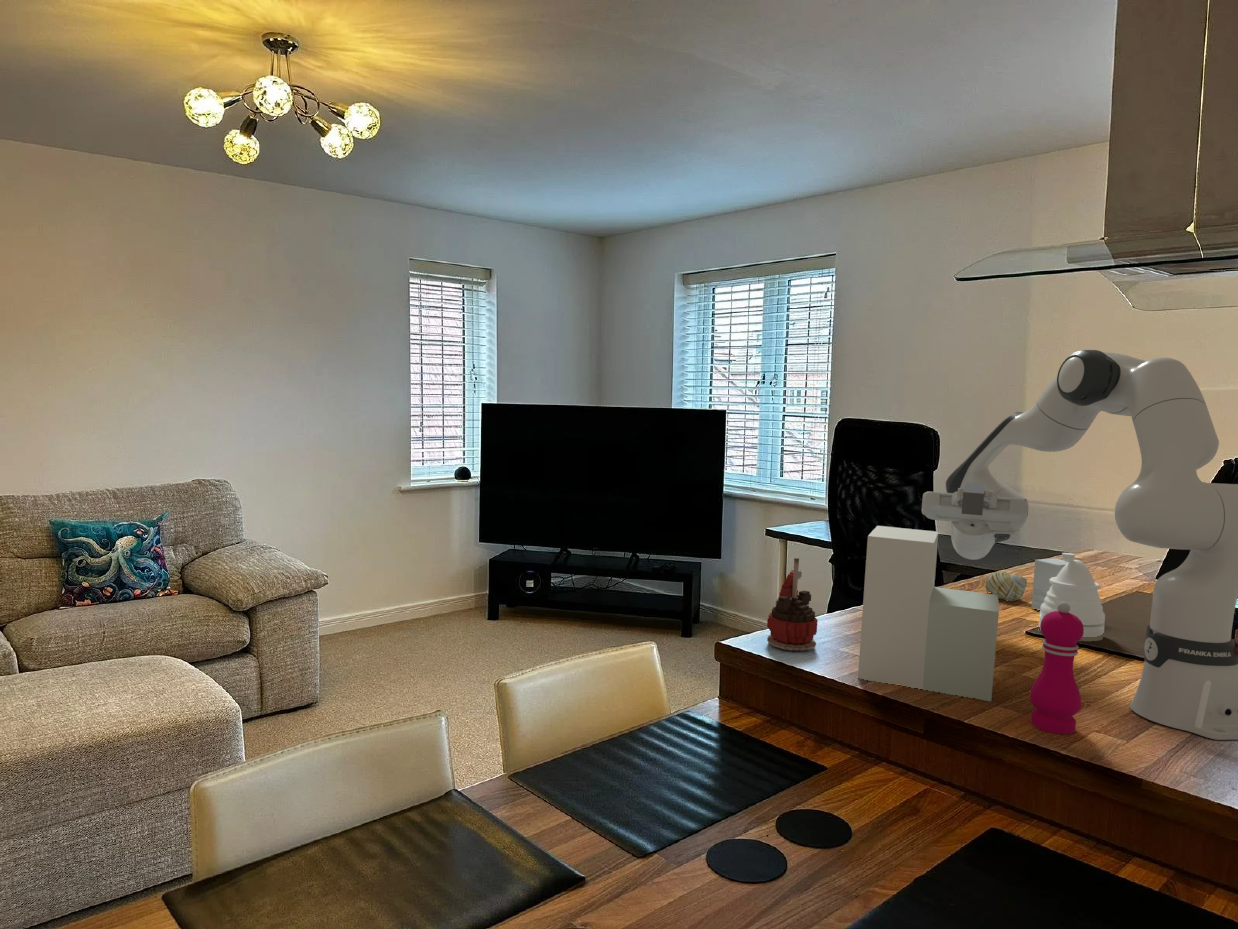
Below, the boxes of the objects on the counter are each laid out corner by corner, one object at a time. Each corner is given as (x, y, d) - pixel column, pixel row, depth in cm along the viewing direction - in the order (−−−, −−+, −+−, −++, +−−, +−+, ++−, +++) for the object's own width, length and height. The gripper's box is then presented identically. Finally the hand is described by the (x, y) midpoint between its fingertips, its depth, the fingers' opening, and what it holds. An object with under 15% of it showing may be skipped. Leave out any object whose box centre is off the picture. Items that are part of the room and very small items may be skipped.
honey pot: (1055, 640, 183) (1062, 558, 182) (1028, 624, 196) (1034, 547, 194) (1115, 643, 183) (1123, 561, 181) (1084, 627, 196) (1091, 550, 194)
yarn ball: (987, 588, 229) (1008, 558, 225) (1018, 611, 223) (1040, 581, 220) (971, 591, 222) (992, 560, 218) (1002, 615, 216) (1025, 584, 212)
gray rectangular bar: (964, 501, 175) (966, 482, 175) (983, 503, 174) (984, 483, 174) (961, 513, 155) (963, 492, 155) (982, 515, 154) (983, 493, 154)
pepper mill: (1085, 738, 129) (1097, 610, 127) (1034, 733, 131) (1045, 605, 129) (1070, 721, 136) (1081, 599, 134) (1022, 715, 138) (1032, 594, 136)
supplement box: (1077, 614, 207) (1082, 563, 206) (1054, 616, 204) (1059, 565, 203) (1051, 607, 214) (1056, 557, 213) (1029, 608, 211) (1034, 558, 210)
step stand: (868, 657, 165) (877, 525, 163) (991, 677, 156) (1002, 538, 154) (857, 678, 152) (867, 535, 150) (991, 701, 143) (1004, 550, 141)
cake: (796, 657, 163) (802, 565, 162) (756, 645, 170) (761, 557, 168) (825, 647, 171) (831, 559, 169) (785, 636, 177) (791, 551, 176)
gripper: (923, 501, 187) (921, 474, 175) (1025, 510, 179) (1030, 482, 167) (920, 528, 185) (918, 502, 173) (1024, 538, 176) (1029, 511, 165)
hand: (974, 492), depth 170 cm, fingers closed on gray rectangular bar, 3 cm apart
